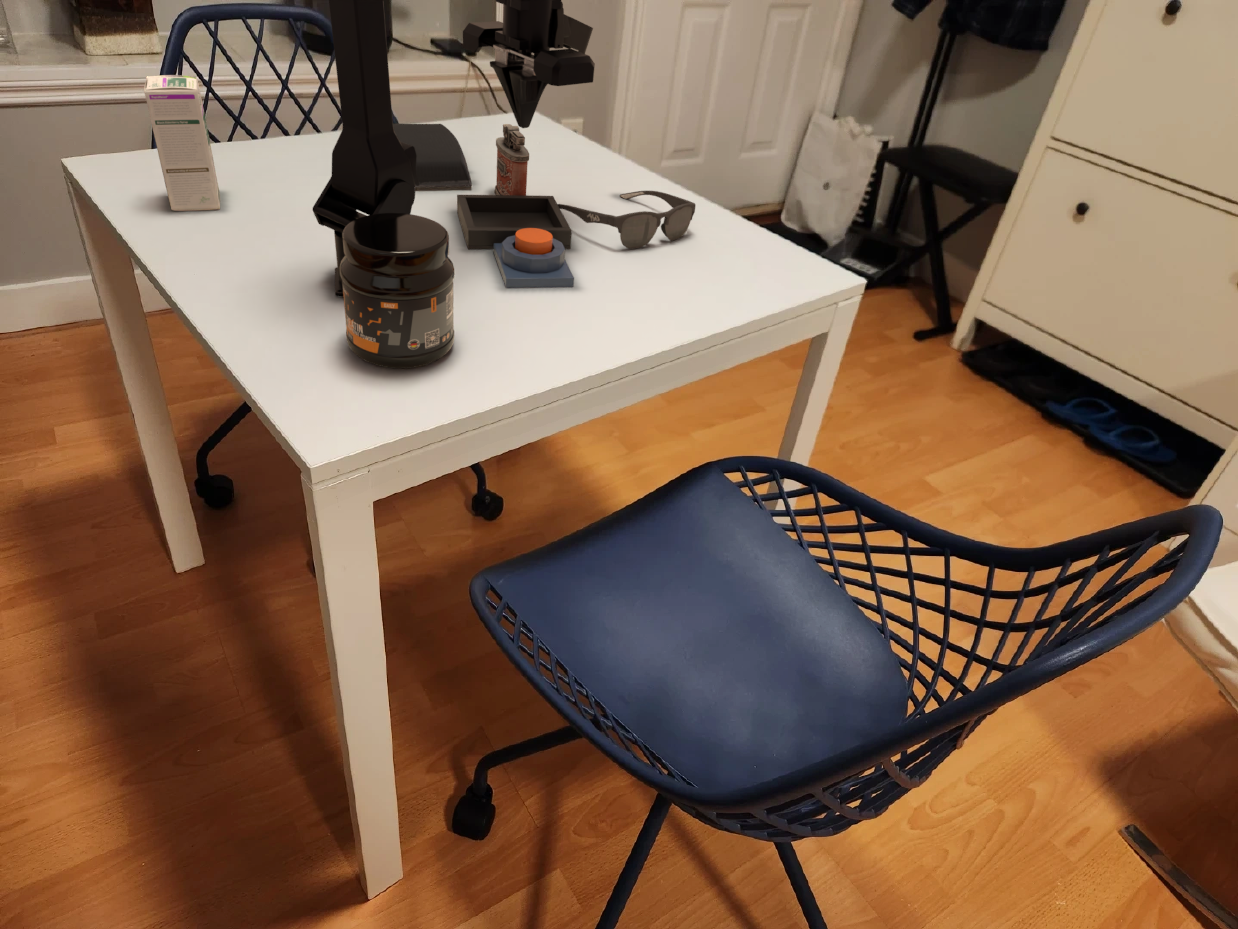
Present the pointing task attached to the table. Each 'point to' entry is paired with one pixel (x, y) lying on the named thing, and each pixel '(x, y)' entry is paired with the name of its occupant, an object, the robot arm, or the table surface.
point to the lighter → (511, 162)
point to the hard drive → (435, 155)
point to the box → (532, 266)
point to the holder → (509, 218)
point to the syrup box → (182, 142)
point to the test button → (533, 241)
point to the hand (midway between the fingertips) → (523, 126)
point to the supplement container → (397, 289)
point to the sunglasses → (643, 219)
